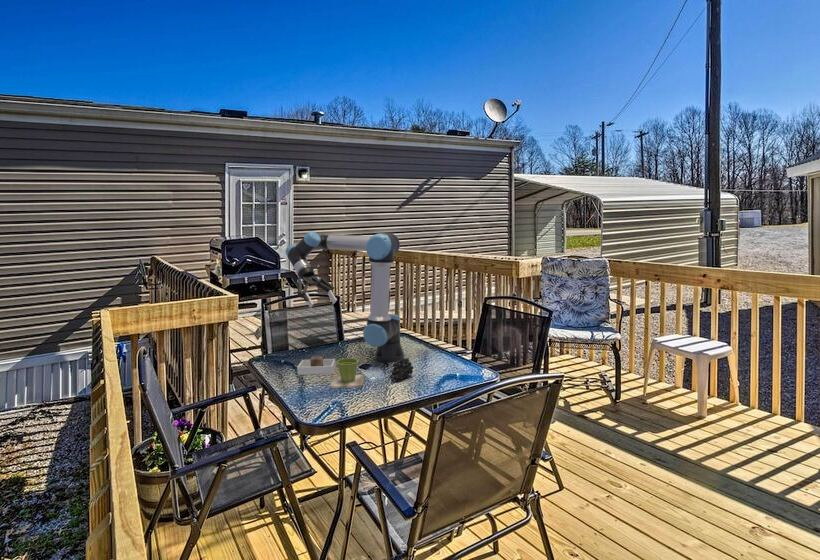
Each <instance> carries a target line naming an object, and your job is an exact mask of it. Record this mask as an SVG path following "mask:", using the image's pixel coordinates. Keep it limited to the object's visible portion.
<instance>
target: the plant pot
mask: <svg viewBox="0 0 820 560" xmlns="http://www.w3.org/2000/svg"><path fill="white" fill-rule="evenodd" d="M358 362H359V360H358V359H357V358H352V357H346V358H341V359H338V360H336V365H337V367H338V371H339V376H340V377H341V381H343V382H350V381H354V380H355V375H357V374H356V373H357V365H358Z"/></svg>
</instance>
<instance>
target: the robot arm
mask: <svg viewBox="0 0 820 560" xmlns="http://www.w3.org/2000/svg"><path fill="white" fill-rule="evenodd" d="M400 247H401V243H400V239H399V238H398V236H397V235H395V234H393V233H391V232H383V233H380V232H379V233H376V234H373V235H348V234H347V235H346V234H343V235H342V234H341V235H340V234H339V235H338V234H323V233H322V234H318V233H317V232H315V231H313V230H310V231H308V233H306V234H305V235H304V236H303V238H302V239H301V240H300V241H299V242H298V243H293V244H290V245H289V246H287V247H286V249H285V254H286V257H287V259H288V260H289V261H290V263H291V266H292V267H293V268H294V271H295V272H296V274H297V275H298V278H297V279H296V285H297V297H300V298H301V299H303V300H304V302H305V303H307V305H308V307H309V308H310V309H312V307H313V306H314V302H313V300H312V299H311V297H310V295H309V294H308V293H307V290H308V287H316V288H319V289H321V290H323V291H325V292H327V295H328V297H329V299H330V301H331V303H332V304H333V305H334V304H335V303H336V302H337V300H338V299H337V298H336V296H335V293H334V289H335V287H334V286H333V285H332V284H331V283H330V282H328V281H327V280H326V279H324V277H323V276H322V275H319V276H316V274H315V271H314V270H313V268H312V266H311V264H310V263H309V261H308V260H307V256H309V254H311V253H312V252H313V251H318V250H333V251H334V250H336V251H337V250H339V251H340V250H341V251H357V252H358V251H362V252H363V251H365V252H366V254H367V255H368V262H369V263H370V265H371V285H370V289H371V290H370V311H369V312H370V313H369V315H368V316H367V317H366V326H365V328H364V330H363V333H362V334H363V339H364V341H365V342H366V343H367V344H368V345H369V346H371V347H374V348H376V349H375V351H374V360H375V361H377V362H382V363H383V362H384V363H396V362H397V360H401V359H402V358H404V359H405V352H404V350H403V346H402V344H401V320H400V319H401V318H400V316H399V315H398V314H393V313H389V299H390V274H391V270H390V269H391V266H392V265H393V263H394V256H395V255H396V254H397V253H398V252H399V250H400ZM303 284H304V287H303V286H302V285H303Z"/></svg>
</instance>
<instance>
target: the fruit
mask: <svg viewBox="0 0 820 560" xmlns="http://www.w3.org/2000/svg"><path fill="white" fill-rule="evenodd" d="M392 366H393V368H392V369H391V370H390V373H391V374H389V379H391V380H393V382H398V379H399V381H400V380H401V381H402V380H403V378H408V377H409V376H410V375H412V374H413V372H414V366H413V364H412V362H411V361H410V359H409V358H405V357H404V358H402V359H401V360H397V361H395V362H393V364H392Z"/></svg>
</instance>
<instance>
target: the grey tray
mask: <svg viewBox="0 0 820 560" xmlns="http://www.w3.org/2000/svg"><path fill="white" fill-rule="evenodd" d="M336 365H337V363H336V358H323V366H315V367H311V363H310V359H302V360H301V361H300V363H299V364H298V366H297V375H298V376H303V375H304V376H305V375H333V374H334V371H335V369H336Z"/></svg>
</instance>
